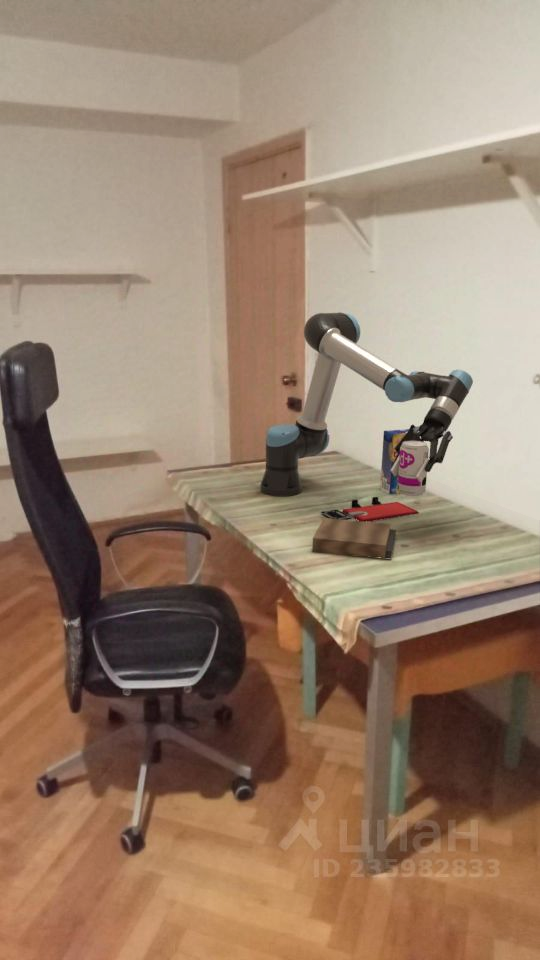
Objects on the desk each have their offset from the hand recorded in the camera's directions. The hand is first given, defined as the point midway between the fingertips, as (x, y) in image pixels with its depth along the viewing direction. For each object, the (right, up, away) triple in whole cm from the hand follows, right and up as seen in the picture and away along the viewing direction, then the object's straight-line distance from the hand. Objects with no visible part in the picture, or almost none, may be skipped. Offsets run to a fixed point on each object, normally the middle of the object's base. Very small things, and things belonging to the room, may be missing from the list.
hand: (405, 476), depth 194 cm
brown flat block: (-16, -19, -3) cm, 25 cm away
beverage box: (+7, -5, +51) cm, 52 cm away
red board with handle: (-7, -13, +25) cm, 29 cm away
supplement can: (+2, -5, +4) cm, 7 cm away
